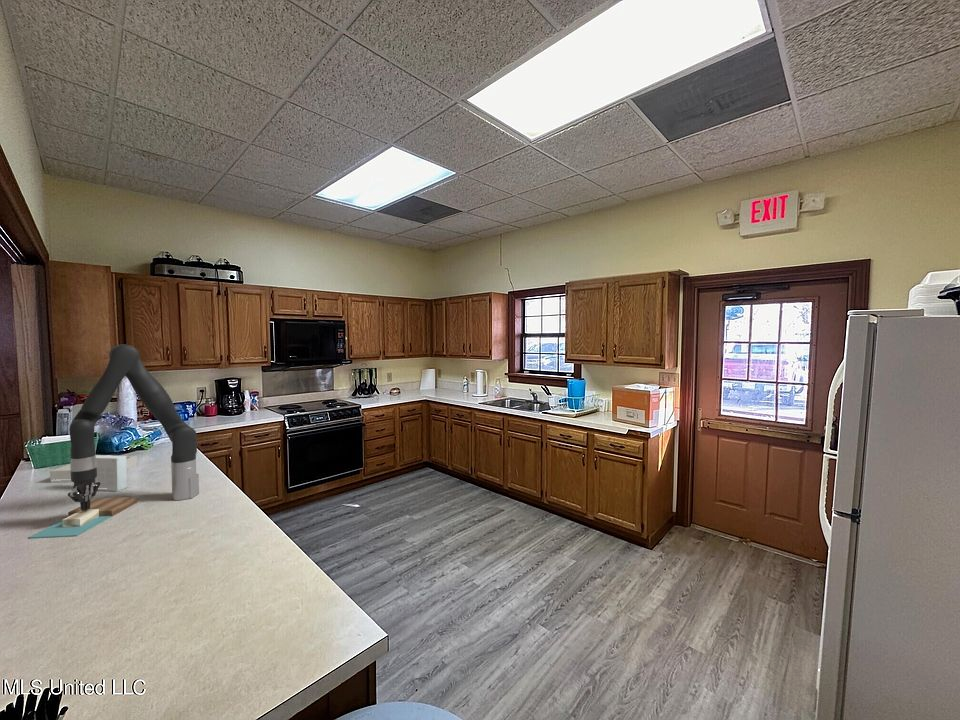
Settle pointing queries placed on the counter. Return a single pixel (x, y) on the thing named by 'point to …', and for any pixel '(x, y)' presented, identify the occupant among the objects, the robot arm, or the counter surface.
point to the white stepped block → (66, 471)
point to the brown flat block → (108, 505)
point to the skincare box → (111, 472)
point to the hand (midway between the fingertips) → (85, 509)
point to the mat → (68, 529)
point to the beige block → (80, 518)
